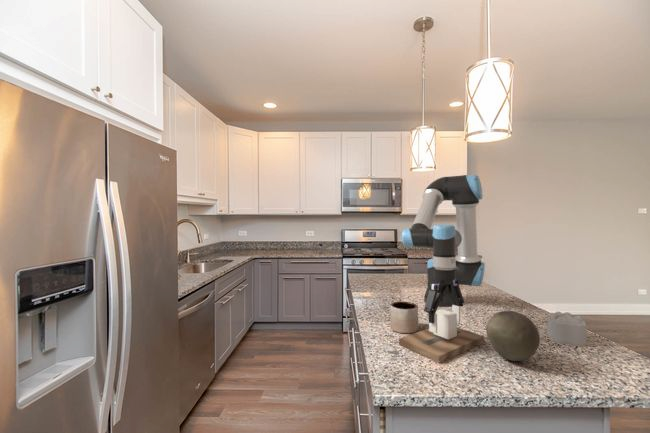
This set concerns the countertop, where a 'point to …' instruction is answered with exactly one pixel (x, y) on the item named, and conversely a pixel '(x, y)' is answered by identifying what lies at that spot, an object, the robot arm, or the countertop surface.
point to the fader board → (440, 344)
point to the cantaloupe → (513, 335)
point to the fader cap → (446, 324)
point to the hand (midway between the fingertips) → (445, 327)
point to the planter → (404, 317)
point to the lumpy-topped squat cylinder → (567, 329)
